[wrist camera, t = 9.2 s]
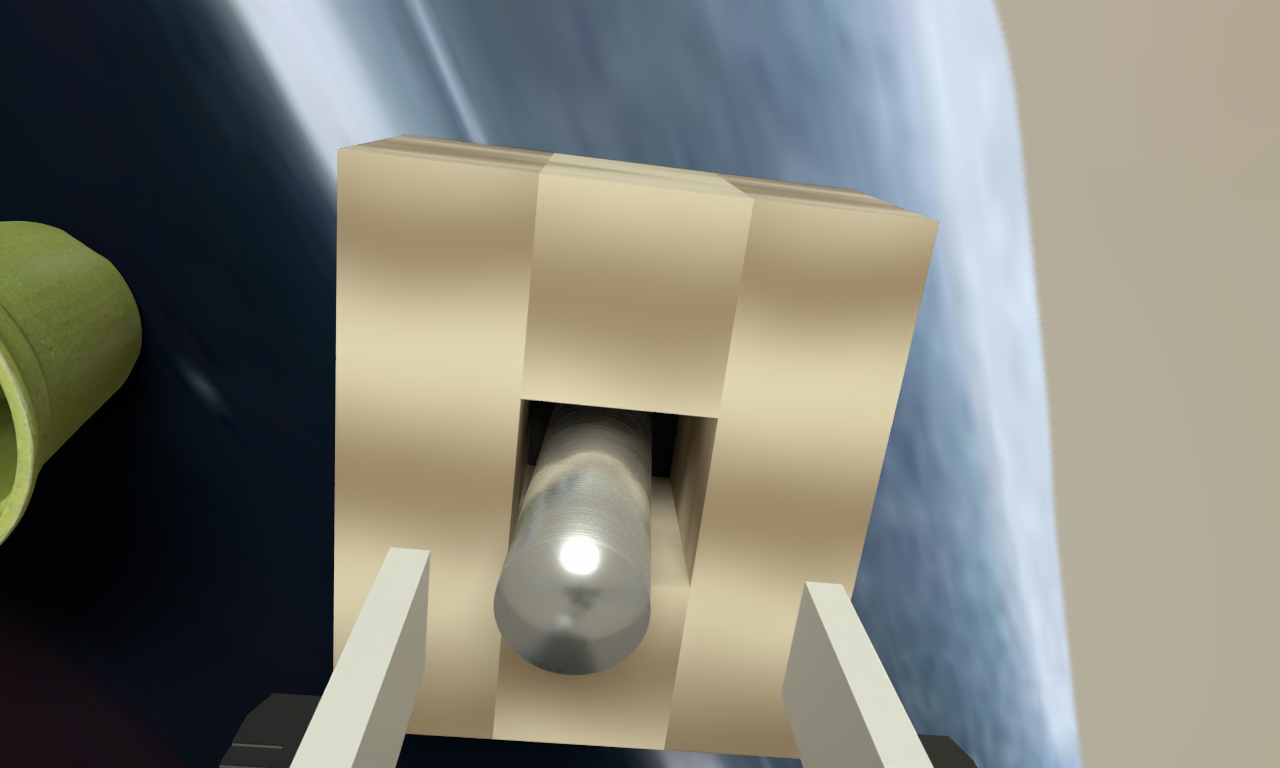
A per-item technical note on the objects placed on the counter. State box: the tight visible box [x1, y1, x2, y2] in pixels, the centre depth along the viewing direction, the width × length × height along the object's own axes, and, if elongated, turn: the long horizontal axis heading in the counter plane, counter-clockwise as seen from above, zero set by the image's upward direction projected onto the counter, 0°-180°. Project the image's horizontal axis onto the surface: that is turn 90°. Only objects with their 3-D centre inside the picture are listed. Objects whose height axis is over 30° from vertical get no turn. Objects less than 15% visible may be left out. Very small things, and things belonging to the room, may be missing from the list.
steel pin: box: [494, 402, 652, 675], centre depth 23 cm, size 3×3×12 cm
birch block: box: [334, 135, 939, 759], centre depth 25 cm, size 16×14×7 cm
